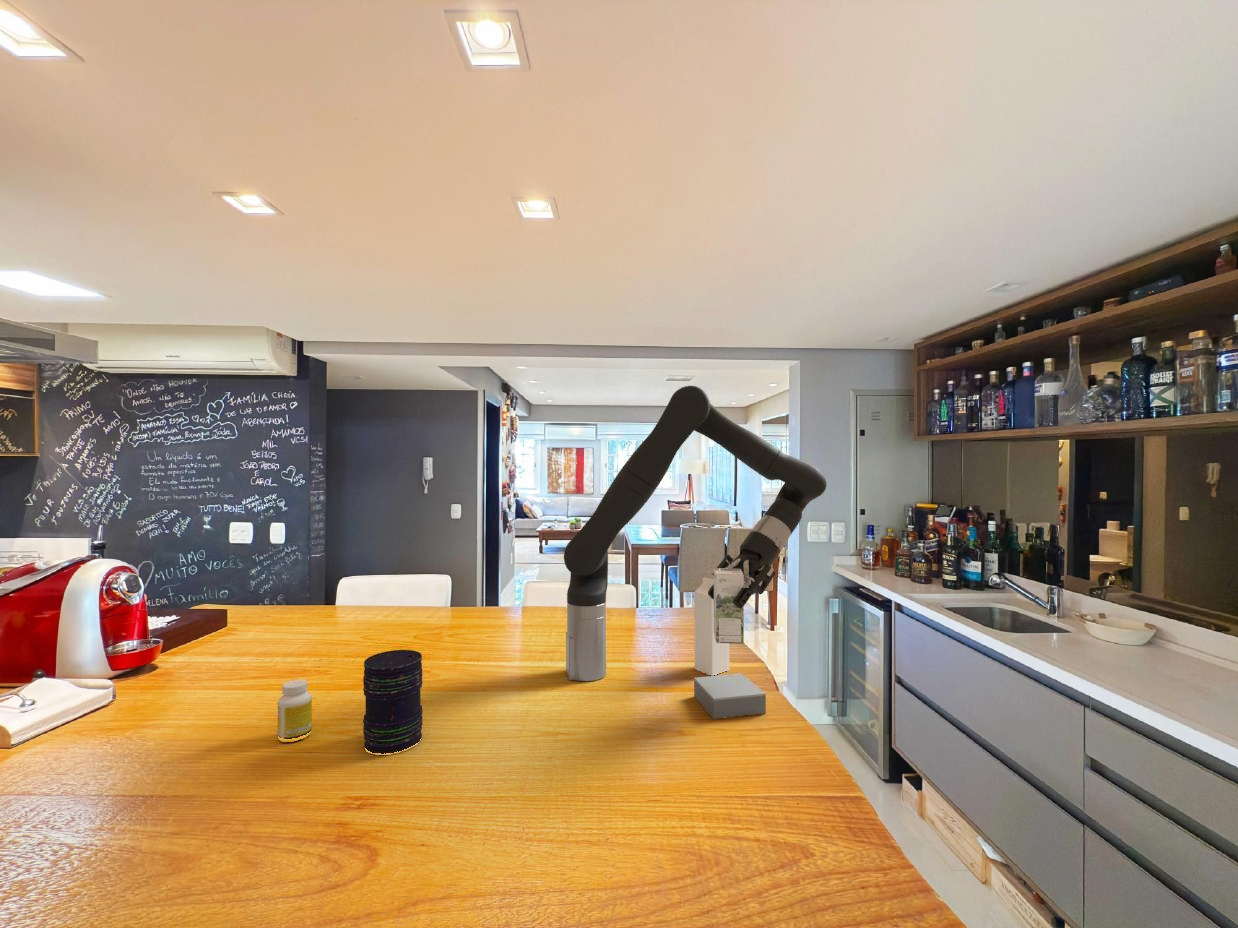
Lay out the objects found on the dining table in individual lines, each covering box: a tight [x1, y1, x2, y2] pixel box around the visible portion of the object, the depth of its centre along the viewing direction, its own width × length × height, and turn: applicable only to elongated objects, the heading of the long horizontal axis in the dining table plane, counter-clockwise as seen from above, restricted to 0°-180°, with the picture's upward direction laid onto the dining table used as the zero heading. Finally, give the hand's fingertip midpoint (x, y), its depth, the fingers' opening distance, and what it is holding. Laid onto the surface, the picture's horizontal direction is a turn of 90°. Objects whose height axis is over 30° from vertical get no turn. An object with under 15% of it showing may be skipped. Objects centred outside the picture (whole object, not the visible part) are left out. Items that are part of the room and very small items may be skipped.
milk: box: [693, 577, 730, 676], centre depth 134 cm, size 6×6×22 cm
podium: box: [693, 673, 767, 720], centre depth 114 cm, size 11×11×4 cm
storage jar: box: [362, 649, 424, 754], centre depth 99 cm, size 10×10×15 cm
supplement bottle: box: [277, 679, 313, 739], centre depth 101 cm, size 5×5×10 cm
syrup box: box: [713, 567, 745, 645], centre depth 115 cm, size 6×6×14 cm
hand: (723, 601), depth 114 cm, fingers closed on syrup box, 8 cm apart
